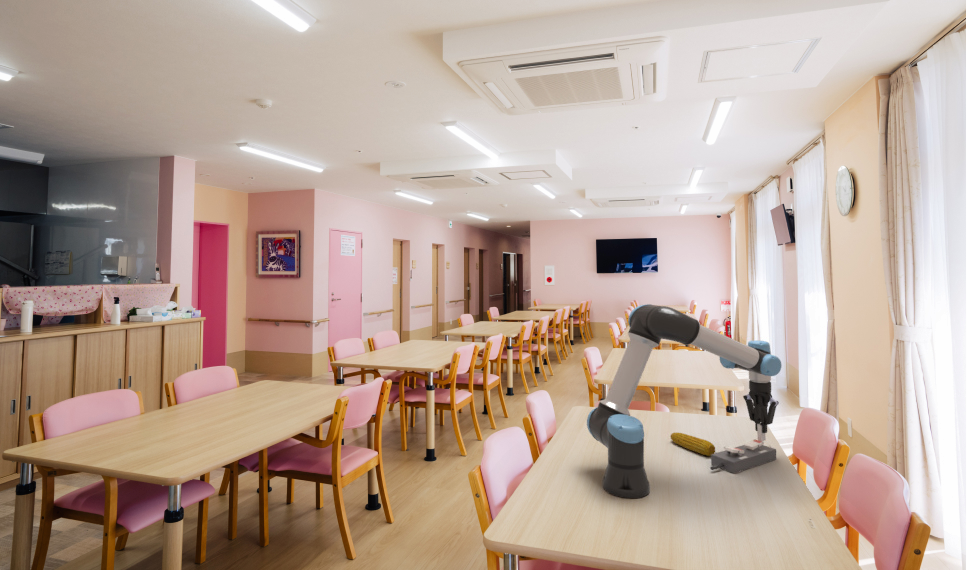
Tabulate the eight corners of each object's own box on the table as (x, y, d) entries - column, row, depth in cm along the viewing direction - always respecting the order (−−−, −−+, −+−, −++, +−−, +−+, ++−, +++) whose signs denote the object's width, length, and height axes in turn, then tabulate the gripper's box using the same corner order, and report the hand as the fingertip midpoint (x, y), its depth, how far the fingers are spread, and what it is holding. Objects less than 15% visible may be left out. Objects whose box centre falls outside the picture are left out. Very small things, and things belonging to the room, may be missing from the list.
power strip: (723, 477, 167) (722, 463, 167) (700, 468, 175) (700, 454, 175) (776, 459, 182) (776, 446, 182) (753, 452, 190) (753, 439, 190)
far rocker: (753, 450, 179) (752, 447, 179) (743, 446, 183) (743, 444, 182) (764, 444, 182) (763, 441, 182) (754, 441, 186) (754, 438, 186)
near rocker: (733, 452, 174) (733, 449, 174) (723, 449, 177) (723, 446, 177) (744, 453, 177) (744, 450, 177) (734, 450, 180) (735, 447, 180)
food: (717, 456, 186) (717, 441, 186) (707, 459, 183) (707, 444, 183) (675, 440, 205) (675, 426, 205) (665, 442, 202) (665, 428, 202)
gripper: (782, 382, 180) (784, 443, 181) (749, 376, 192) (751, 433, 192) (771, 385, 177) (772, 447, 177) (738, 378, 188) (739, 437, 189)
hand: (761, 440), depth 185 cm, fingers closed
